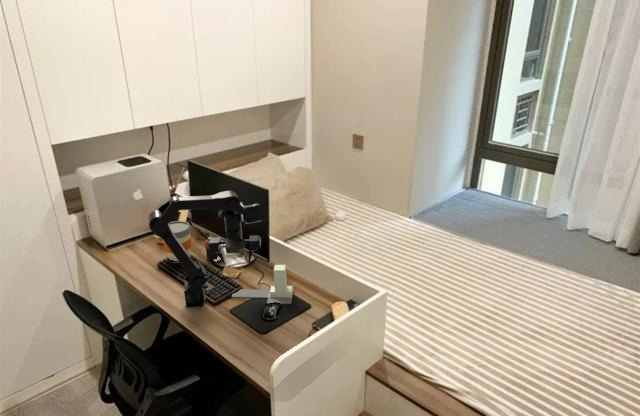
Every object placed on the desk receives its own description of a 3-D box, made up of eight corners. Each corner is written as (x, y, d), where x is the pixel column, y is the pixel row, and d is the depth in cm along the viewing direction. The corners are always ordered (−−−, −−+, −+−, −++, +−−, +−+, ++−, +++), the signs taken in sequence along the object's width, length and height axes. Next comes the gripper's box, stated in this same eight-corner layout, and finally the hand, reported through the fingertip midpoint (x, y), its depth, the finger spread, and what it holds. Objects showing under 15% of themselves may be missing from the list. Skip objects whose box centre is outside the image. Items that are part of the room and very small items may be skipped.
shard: (226, 265, 193) (225, 261, 192) (244, 265, 193) (243, 261, 192) (221, 279, 183) (221, 275, 182) (240, 278, 183) (239, 275, 182)
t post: (269, 296, 169) (268, 270, 165) (271, 290, 173) (269, 264, 168) (290, 296, 169) (289, 270, 164) (292, 290, 173) (290, 264, 168)
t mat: (229, 302, 166) (229, 301, 166) (236, 285, 177) (236, 284, 177) (291, 304, 165) (290, 303, 165) (294, 286, 176) (294, 285, 176)
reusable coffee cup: (158, 259, 197) (153, 228, 191) (181, 248, 206) (177, 218, 200) (177, 267, 190) (172, 236, 184) (200, 255, 200) (196, 225, 194)
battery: (214, 254, 200) (212, 234, 196) (224, 259, 196) (221, 239, 192) (206, 258, 197) (204, 238, 193) (216, 263, 193) (213, 243, 189)
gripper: (203, 236, 153) (208, 275, 160) (258, 234, 155) (261, 273, 161) (208, 223, 164) (212, 260, 170) (259, 220, 165) (262, 257, 171)
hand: (236, 263), depth 168 cm, fingers open, 9 cm apart
